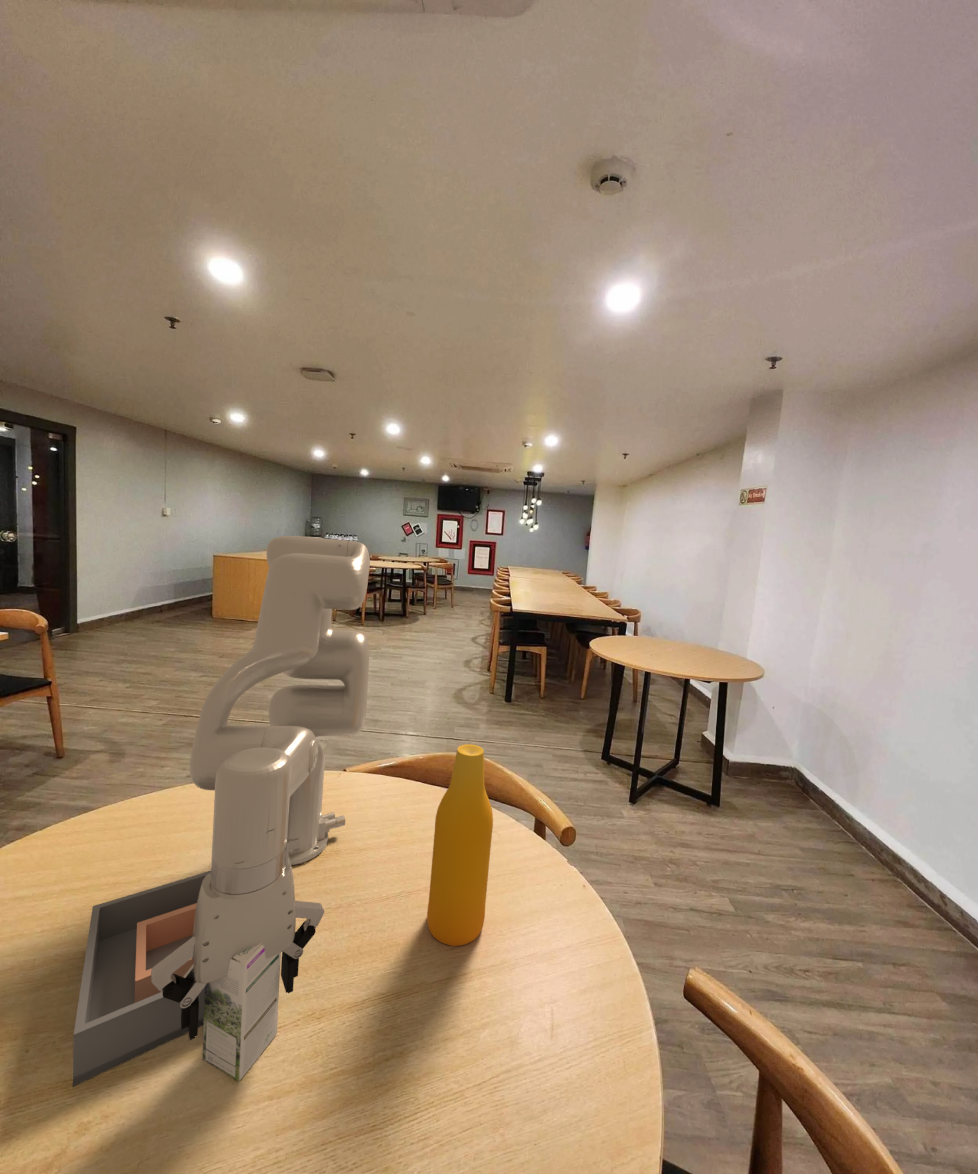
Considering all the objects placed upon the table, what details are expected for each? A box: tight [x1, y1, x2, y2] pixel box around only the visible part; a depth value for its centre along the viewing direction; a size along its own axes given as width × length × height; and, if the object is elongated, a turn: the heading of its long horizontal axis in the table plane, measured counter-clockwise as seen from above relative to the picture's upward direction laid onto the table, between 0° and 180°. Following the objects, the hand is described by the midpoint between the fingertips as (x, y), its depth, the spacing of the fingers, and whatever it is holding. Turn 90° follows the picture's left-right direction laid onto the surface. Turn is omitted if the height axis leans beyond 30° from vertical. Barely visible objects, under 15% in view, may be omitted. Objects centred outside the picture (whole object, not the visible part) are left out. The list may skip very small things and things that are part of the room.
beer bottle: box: [426, 743, 494, 947], centre depth 72 cm, size 9×9×29 cm
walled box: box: [72, 870, 211, 1088], centre depth 61 cm, size 20×20×6 cm
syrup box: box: [202, 944, 282, 1082], centre depth 52 cm, size 6×6×14 cm
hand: (242, 1004), depth 52 cm, fingers open, 9 cm apart
